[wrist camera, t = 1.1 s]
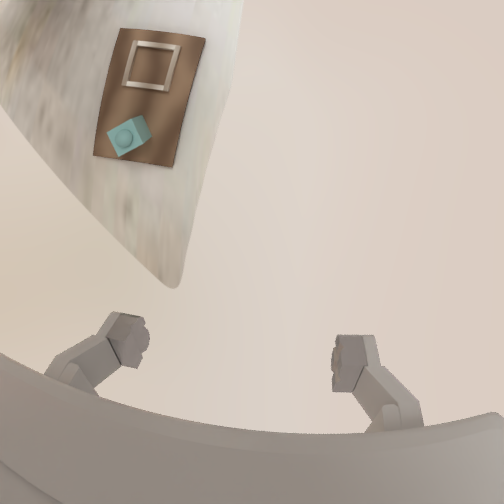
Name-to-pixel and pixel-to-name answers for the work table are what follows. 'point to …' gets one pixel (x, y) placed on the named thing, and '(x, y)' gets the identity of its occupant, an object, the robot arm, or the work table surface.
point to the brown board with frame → (148, 91)
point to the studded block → (129, 135)
